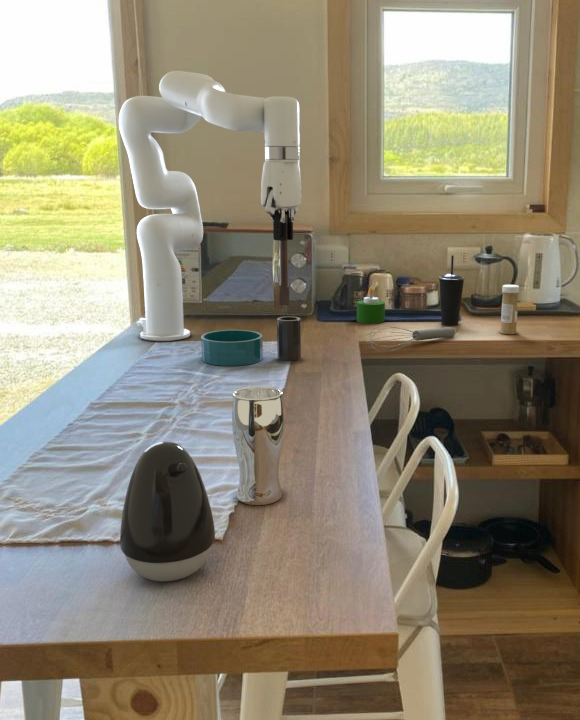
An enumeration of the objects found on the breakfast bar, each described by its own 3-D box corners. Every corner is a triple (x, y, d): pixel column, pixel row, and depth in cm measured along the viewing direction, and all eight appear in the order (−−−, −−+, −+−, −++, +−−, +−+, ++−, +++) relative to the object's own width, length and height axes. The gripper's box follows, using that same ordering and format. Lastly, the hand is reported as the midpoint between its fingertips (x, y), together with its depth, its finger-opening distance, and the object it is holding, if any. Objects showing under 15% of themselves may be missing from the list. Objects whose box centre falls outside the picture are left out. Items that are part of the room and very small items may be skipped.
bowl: (189, 363, 183) (188, 337, 182) (226, 351, 196) (225, 327, 194) (239, 371, 178) (238, 344, 176) (274, 358, 190) (274, 333, 188)
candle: (380, 324, 233) (381, 290, 231) (353, 322, 235) (353, 288, 233) (387, 319, 241) (388, 286, 239) (360, 317, 243) (361, 284, 241)
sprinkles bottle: (519, 333, 224) (522, 285, 221) (507, 335, 222) (510, 287, 218) (508, 330, 228) (511, 283, 225) (496, 332, 225) (499, 284, 222)
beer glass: (224, 495, 111) (221, 391, 108) (265, 483, 116) (263, 382, 113) (253, 511, 107) (251, 403, 103) (295, 497, 111) (294, 393, 108)
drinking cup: (450, 320, 241) (452, 253, 237) (468, 324, 236) (471, 256, 231) (431, 323, 236) (433, 254, 232) (449, 327, 231) (452, 257, 226)
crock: (273, 361, 187) (272, 319, 185) (285, 356, 192) (285, 315, 189) (292, 364, 185) (292, 321, 182) (305, 359, 189) (305, 317, 187)
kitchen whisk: (465, 337, 218) (466, 314, 216) (378, 357, 194) (378, 331, 193) (448, 333, 222) (449, 311, 220) (360, 352, 198) (360, 327, 197)
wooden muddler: (277, 304, 184) (276, 214, 180) (282, 303, 186) (280, 214, 181) (286, 305, 183) (285, 215, 179) (290, 304, 185) (289, 214, 180)
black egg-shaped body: (141, 604, 84) (133, 467, 80) (110, 564, 92) (101, 438, 88) (231, 577, 90) (228, 448, 86) (194, 541, 98) (190, 422, 94)
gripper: (287, 156, 185) (288, 236, 190) (246, 154, 172) (248, 241, 176) (315, 156, 182) (315, 238, 187) (276, 155, 168) (277, 243, 173)
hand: (283, 239), depth 181 cm, fingers closed on wooden muddler, 1 cm apart
